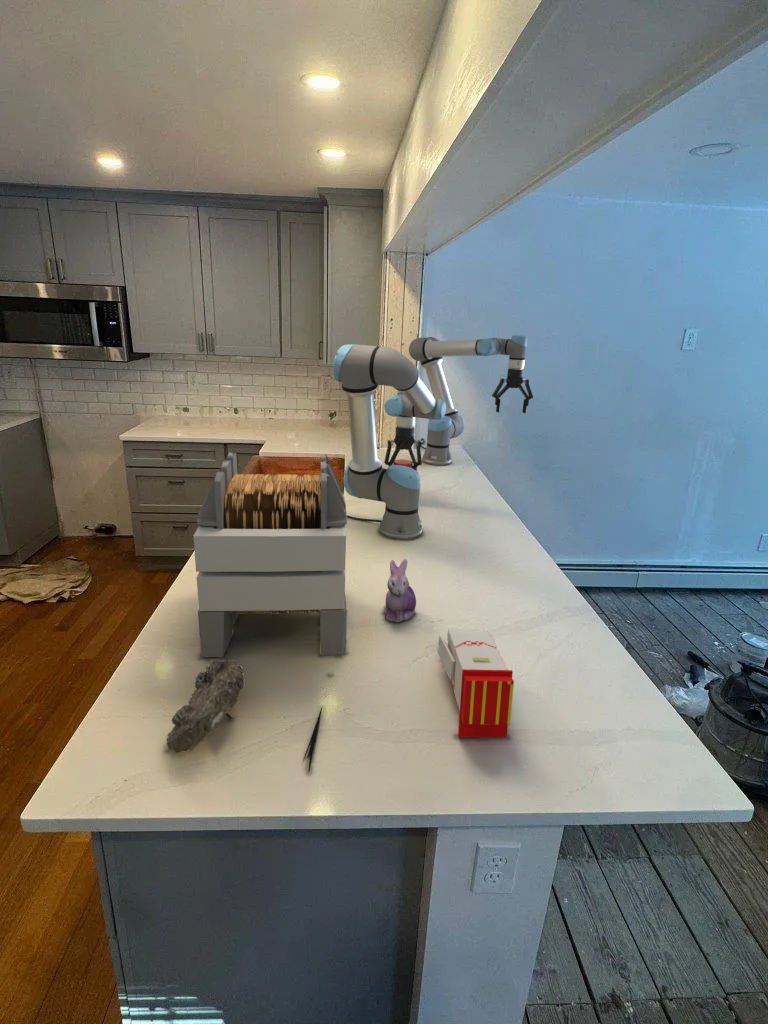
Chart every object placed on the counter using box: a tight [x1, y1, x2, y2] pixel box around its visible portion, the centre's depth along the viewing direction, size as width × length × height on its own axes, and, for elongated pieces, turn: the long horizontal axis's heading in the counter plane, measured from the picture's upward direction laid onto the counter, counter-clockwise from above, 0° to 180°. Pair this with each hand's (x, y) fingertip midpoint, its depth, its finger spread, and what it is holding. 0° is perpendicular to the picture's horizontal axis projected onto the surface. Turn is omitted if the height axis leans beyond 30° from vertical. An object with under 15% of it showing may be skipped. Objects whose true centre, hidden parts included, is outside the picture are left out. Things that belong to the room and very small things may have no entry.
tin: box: [393, 459, 414, 468], centre depth 233 cm, size 8×8×10 cm
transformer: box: [193, 452, 348, 659], centre depth 136 cm, size 34×33×41 cm
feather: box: [301, 673, 332, 771], centre depth 108 cm, size 2×28×2 cm
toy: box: [437, 628, 515, 738], centre depth 117 cm, size 12×13×30 cm
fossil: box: [166, 658, 245, 754], centre depth 106 cm, size 22×10×15 cm
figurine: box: [384, 558, 417, 623], centre depth 145 cm, size 9×10×15 cm
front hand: (401, 481), depth 234 cm, fingers closed on tin, 8 cm apart
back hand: (510, 412), depth 282 cm, fingers open, 13 cm apart
